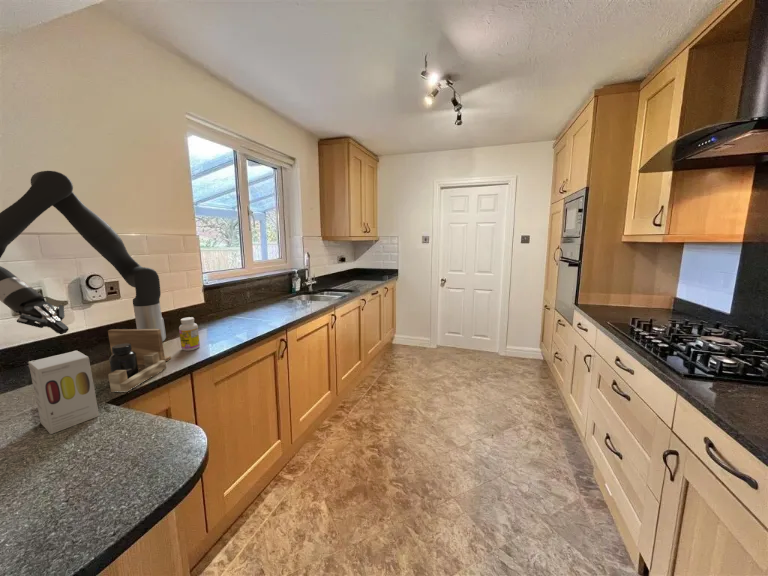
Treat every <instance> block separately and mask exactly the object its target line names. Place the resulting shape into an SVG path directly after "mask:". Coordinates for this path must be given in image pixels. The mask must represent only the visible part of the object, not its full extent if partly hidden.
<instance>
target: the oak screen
mask: <svg viewBox="0 0 768 576" xmlns="http://www.w3.org/2000/svg"><path fill="white" fill-rule="evenodd" d="M107 335H108V341H109V345H110V346H109V347H110V352H111V355H113V353H112V347H113V346H115V345H118V344H124V343H130V344H131V348H132V350H131V351H134V352H135V353H136V356H137V363H138V365H145V363H144V355H146V354H148V353H158V354H159V361H161V360H165V363H166V361H167V362H168V361H170V360H171V359H172V357H171V356H169V355H167V356H166V355H165V349H164V343H163V341H162V336H161V329H137V328H133V329H132V328H129V329H128V328H122V329H119V328H117V329H115V328H113V329H112V328H111V329H109V330H107ZM169 359H170V360H169Z"/></svg>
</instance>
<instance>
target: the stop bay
mask: <svg viewBox="0 0 768 576" xmlns="http://www.w3.org/2000/svg"><path fill="white" fill-rule="evenodd" d="M144 363H145V364H144V369H142V370H141V371H139V373H137V374H135V375H134V376H132V377H130V378H129V379H128V378H127V372H126V370H116V371H114V372H112V373H111V372H109V373H108V375H107V376H108V381H109V386H110V391H111V392H114V391H128V390H129V389H131V388H133V387H135V386H136V385H138V384H139V383H141V382H143V381H144V380H146V379H148V378H150V377H151V376H153V377H155V376H156V375H155V374H157V373H158V372H160V371H161V370H163V369H164V370H166V369H167V365H166V362H165V360H161V361H159V354H158V353H148V354H146V355H144ZM165 368H166V369H165ZM164 370H163V371H164ZM161 372H162V371H161ZM161 372H160V373H161ZM158 374H159V373H158ZM158 374H157V375H158ZM154 375H155V376H154ZM150 379H151V378H150Z"/></svg>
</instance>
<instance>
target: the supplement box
mask: <svg viewBox="0 0 768 576" xmlns="http://www.w3.org/2000/svg"><path fill="white" fill-rule="evenodd" d="M27 364H28V367H29V372H30V376H31V381H32V386H33V391H34V396H35V401H36V406H37V410H38V415H39V421H40V424H41V425H42V426H43V427H44V428H45V430H46V431H47V432H48V433H49V434H50V435H53V434H55V433H57V432H61V431H63V430H65V429H68V428H69V429H70V428H71V427H74V426H76V425H79V424H81V423H84V422H87V421H90V420H92V419H95V418H97V417H99V416H100V415H99V408H98V404H97V403H98V402H97V396H96V391H95V385H94V381H93V373H92V369H91V363H90V358H89V356H88V355H85V354H84V353H82V352H81V351H78V349H77V350H73V351H69V352H65V353H61V354H57V355H52V356H48V357H47V356H46V357H44V358H39V359H36V360H31V361H30V360H29V361H28V363H27Z"/></svg>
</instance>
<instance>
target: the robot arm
mask: <svg viewBox="0 0 768 576" xmlns="http://www.w3.org/2000/svg"><path fill="white" fill-rule="evenodd" d="M30 185H31V186H30V187H29V189H28V190H27V191H26V192H25V193H24V194H23V195H22V196H21V197H20V198H19V199H17V200H16V201H15V202H13V203H12V204H10V205H9V206H8V207H6V208H4V209H3V210H2V211H1V212H0V259H1V258H2V257H3V255H4V253H5V251H6V250H7V247H8V246H9V245H10V244H11V243H12V242H13V241H15V240H16V239H17V238H18V237H19V236H20V235H21V234H22V233H23V232H24V231H25V230H26V229H27V228H28V227H29V226H30V225H31V224H32V223H33V222H34V221H35V220H36V219H37V218H38V217H40V216H41V215H42V214H43V213H45V212H46V211H47V210H49V209H50V208H51V207H54V209H56V211H58V212H59V213H60V214H61V215H62V216H64V218H65V219H66V220H67V222H69V224H70V225H71V226H72V227H73V228H74V230H75V231H77V233H78V234H79V235H81V238H83V240H85V241H86V242H87V243H88V244H89V245H90V246H91V247H92V248H93V249H94V250H95V251H96V252H98V254H100V255H101V257H103V258H104V259H105V260H106V261H107V262H108V263H110V265H111V266H113V268H114V269H115V270H116V271H117V272H118V273H119V275H120V276H121V277H122V279H124V281H125V282H126V284H128V285H129V286H130V287H131V288H135V289H134V290H135V297H133V299H132V306H133V313H134V318H135V319H134V320H135V324H136V329H161V336H162V342H164V341H165V340H166V338H167V335H166V328H165V321H164V317H163V316H162V309H161V302H160V301H161V300H160V298H161V294H162V293H161V284H160V282H161V281H160V276H159V274H158V272H157V271H156V270H155V269H153V268H151V267H145V266H144V267H143V266H142V265H140V264H139V263H138V262H137V261H136V260H135V259H134V258H133V257H132V256H131V255H130V253H129V252H128V250H127V248H126V245H125V243H124V242H123V239H121V237H120V236H119V234H118V233H117V232H116V231H115V230H114V229H113V228H112V226H110V224H108V223H107V221H105V220H104V219H102V218H101V217H100V216H99V215H98V214H96V212H94V211H93V210H92V209H90V208H89V207H88V206H87V205H86V204H84V203H83V202H82V201H81V200H80V199H79V197H78V196H77V195H76V194H75V193H74V192H73V190H74V185H73V182H72V180H71V179H70V178H69V177H68V176H67V175H65V174H63V173H61V172H59V171H56V170H41V171H38V172H35V173H34V174H32V176H31V177H30ZM0 303H3V304H4V305H5V306H6V307H8V308H9V309H10V310H12V311H13V312H14V313H16V314H18V315H19V317H18V318H17V320H16V322H17V323H19V324H24V325H28V326H31V327H35V328H40V329H43V328H44V327H45V328H48V329H49V328H50V329H51V330H53V331H54V332H55V333H57V334H59V335H64V334H66V333H67V332H68V331H69V326H67V324H65V323H63V319H64V318H65V308H64V307H65V306H64V305H61V304H60V305H58V306H57V305H56V306H55V305H52V303H49V302H47V301H46V299H45V297H44V295H42V294H41V293H40V292H38V291H37V290H35V288H33V287H32V286H30V284H28V283H27V282H25V281H24V280H21V279H20V277H18V276H16V275H15V274H13V273H12V272H11V271H10V270H8V269H7V268H5V267H3V266H1V265H0Z"/></svg>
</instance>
